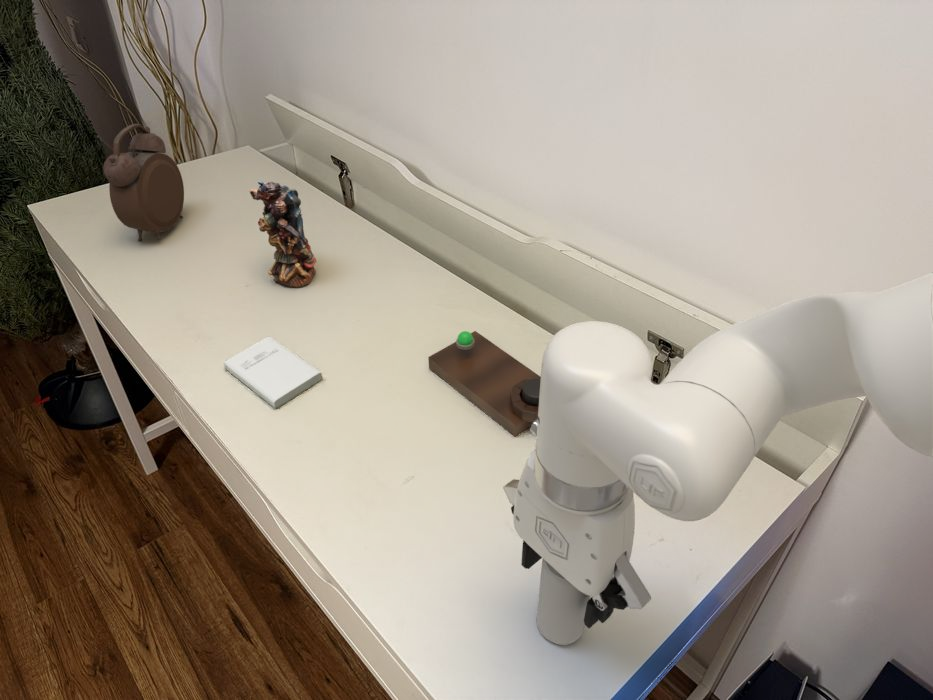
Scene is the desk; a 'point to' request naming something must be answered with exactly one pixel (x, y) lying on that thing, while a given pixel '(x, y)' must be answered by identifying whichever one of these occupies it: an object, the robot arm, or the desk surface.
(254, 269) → the desk surface
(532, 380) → the button
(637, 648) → the desk surface
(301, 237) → the figurine
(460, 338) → the green lamp
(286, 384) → the hard drive
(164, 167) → the alarm clock
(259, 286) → the desk surface
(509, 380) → the switch box
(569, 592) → the beverage can
